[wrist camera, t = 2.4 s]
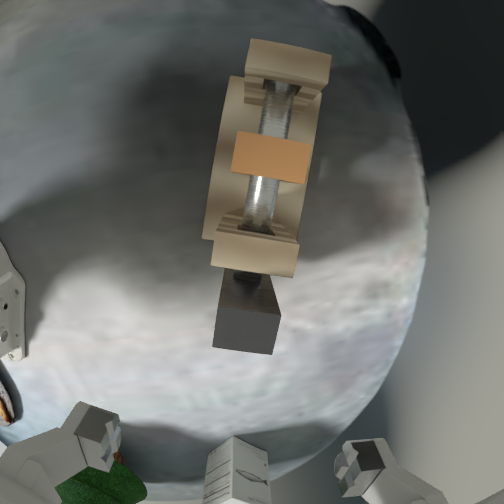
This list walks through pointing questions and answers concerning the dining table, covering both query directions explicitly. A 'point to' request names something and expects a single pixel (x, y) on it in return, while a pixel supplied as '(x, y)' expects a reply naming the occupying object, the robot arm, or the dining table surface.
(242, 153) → the spacer
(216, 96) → the dining table surface
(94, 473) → the decorative tree
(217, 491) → the supplement box
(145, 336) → the dining table surface
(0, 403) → the food plate
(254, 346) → the shaft
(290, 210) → the shaft stand
